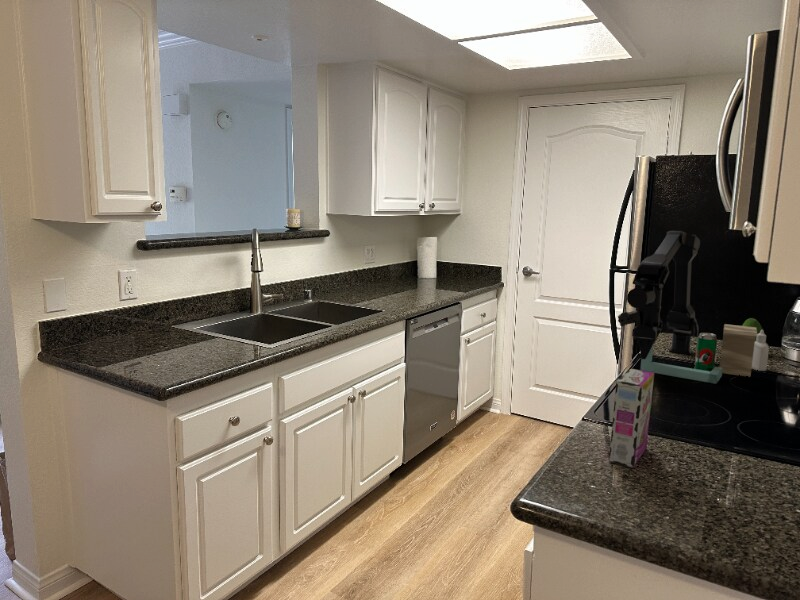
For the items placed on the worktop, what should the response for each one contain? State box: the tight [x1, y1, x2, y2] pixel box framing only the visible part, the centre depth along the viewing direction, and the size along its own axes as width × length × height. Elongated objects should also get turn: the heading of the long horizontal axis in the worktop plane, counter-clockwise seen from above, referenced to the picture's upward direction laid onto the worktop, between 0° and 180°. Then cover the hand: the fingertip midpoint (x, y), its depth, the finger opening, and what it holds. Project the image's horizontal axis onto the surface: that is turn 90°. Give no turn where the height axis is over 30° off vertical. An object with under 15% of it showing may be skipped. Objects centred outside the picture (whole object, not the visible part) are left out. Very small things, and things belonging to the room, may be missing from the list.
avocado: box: [741, 317, 763, 341], centre depth 194 cm, size 8×8×12 cm
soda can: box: [693, 332, 718, 372], centre depth 169 cm, size 5×5×12 cm
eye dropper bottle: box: [751, 329, 770, 372], centre depth 176 cm, size 4×6×12 cm
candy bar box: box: [608, 368, 655, 469], centre depth 114 cm, size 11×5×16 cm, turn 145°
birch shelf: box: [719, 323, 757, 378], centre depth 166 cm, size 8×8×14 cm
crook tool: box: [640, 345, 723, 385], centre depth 171 cm, size 9×20×8 cm, turn 53°
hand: (645, 355), depth 173 cm, fingers open, 9 cm apart
